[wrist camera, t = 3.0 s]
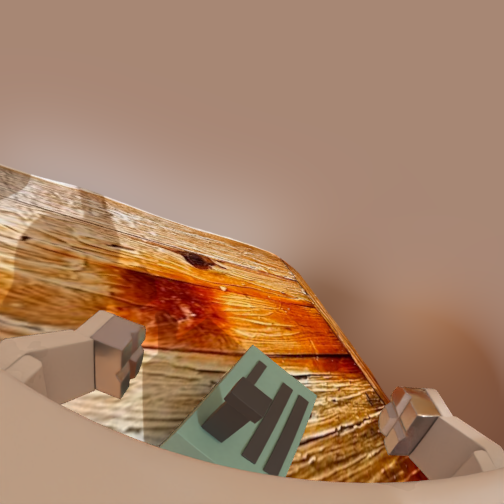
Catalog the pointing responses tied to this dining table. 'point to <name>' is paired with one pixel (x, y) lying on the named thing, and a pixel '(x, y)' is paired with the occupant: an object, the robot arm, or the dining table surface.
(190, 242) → the dining table surface
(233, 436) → the toaster
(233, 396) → the slide switch
